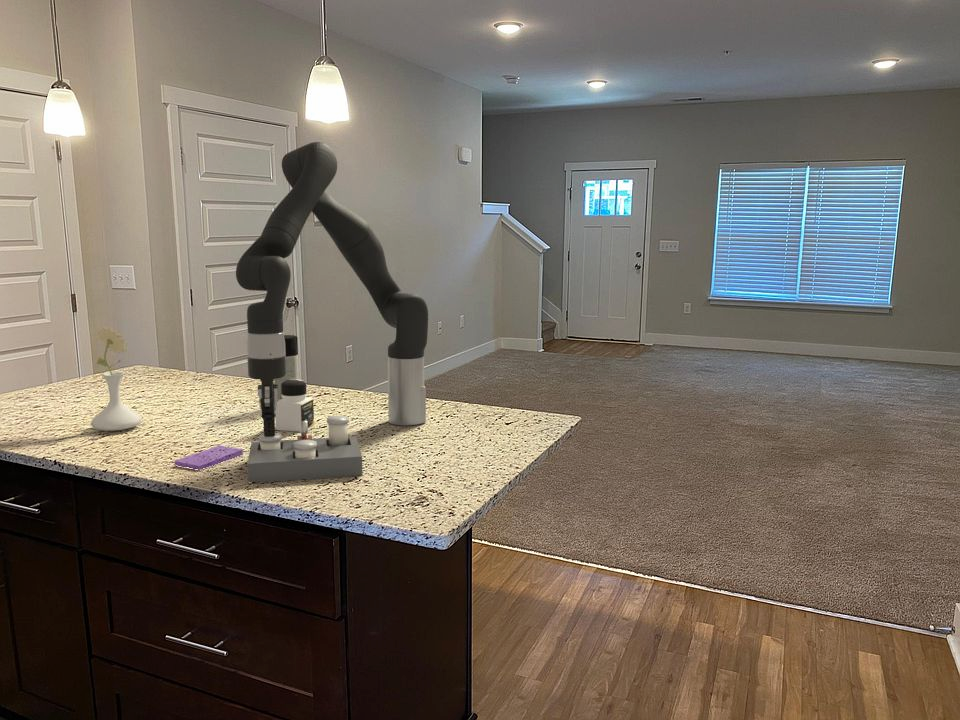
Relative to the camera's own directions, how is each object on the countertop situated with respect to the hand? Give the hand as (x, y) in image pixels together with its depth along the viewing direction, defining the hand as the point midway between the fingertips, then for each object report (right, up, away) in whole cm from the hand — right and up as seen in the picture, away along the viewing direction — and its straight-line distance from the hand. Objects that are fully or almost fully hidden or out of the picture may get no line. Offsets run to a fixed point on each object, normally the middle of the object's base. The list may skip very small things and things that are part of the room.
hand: (269, 435), depth 151 cm
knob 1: (0, -6, +1) cm, 6 cm away
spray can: (-10, +2, +50) cm, 52 cm away
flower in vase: (-46, -1, +28) cm, 54 cm away
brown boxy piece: (+7, -2, +2) cm, 7 cm away
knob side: (+9, -7, -4) cm, 12 cm away
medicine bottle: (-2, -1, +30) cm, 30 cm away
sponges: (-14, -6, +4) cm, 16 cm away
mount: (+8, -6, 0) cm, 10 cm away
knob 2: (+14, -2, +4) cm, 14 cm away
